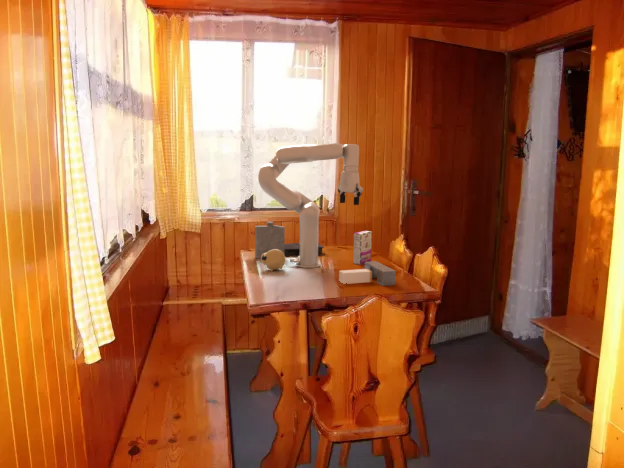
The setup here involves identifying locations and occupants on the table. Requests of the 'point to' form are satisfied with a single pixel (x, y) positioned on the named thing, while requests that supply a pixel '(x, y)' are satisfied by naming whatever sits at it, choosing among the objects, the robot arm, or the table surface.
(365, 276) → the white rectangular block
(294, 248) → the diary
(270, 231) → the hip flask
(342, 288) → the table surface
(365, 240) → the candy bar box
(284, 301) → the table surface
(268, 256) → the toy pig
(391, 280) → the block
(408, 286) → the table surface
